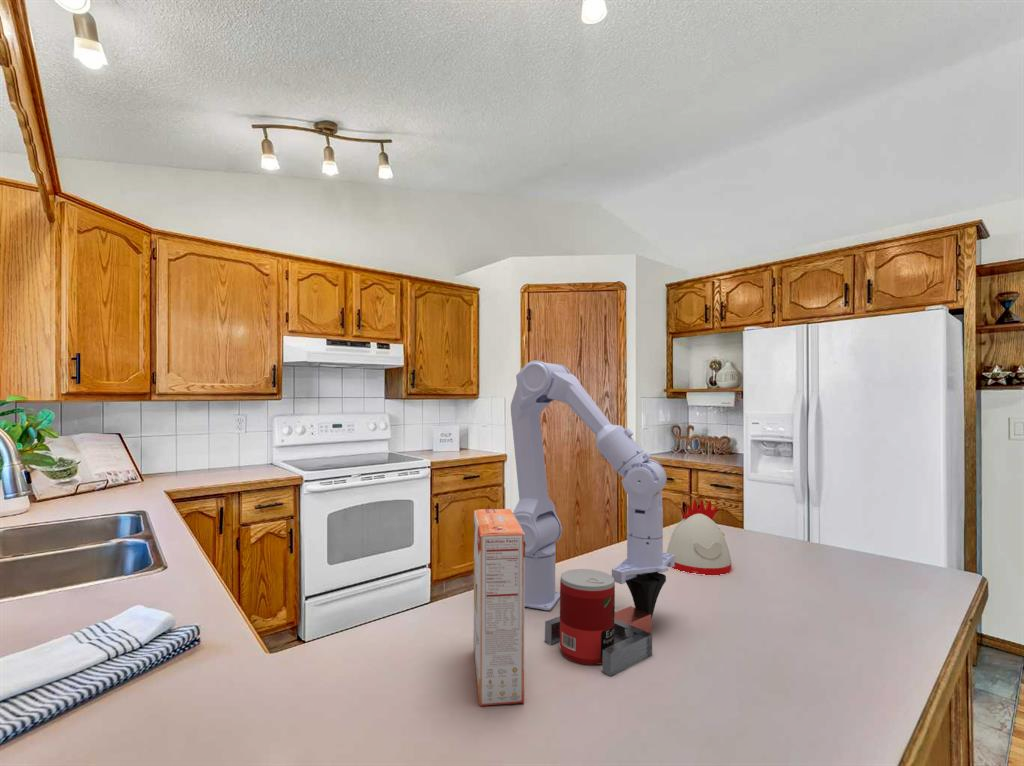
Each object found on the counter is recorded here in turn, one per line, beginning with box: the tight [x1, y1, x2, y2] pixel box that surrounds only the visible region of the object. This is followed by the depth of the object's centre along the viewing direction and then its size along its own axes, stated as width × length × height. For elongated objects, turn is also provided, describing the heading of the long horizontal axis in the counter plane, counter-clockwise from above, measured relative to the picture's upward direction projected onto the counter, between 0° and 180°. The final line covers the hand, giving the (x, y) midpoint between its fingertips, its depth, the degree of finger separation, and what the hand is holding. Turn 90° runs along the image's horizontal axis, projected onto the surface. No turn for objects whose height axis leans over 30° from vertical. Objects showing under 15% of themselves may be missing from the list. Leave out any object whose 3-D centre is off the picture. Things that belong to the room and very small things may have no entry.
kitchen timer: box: [666, 498, 732, 576], centre depth 118 cm, size 14×14×15 cm
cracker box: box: [473, 508, 525, 707], centre depth 69 cm, size 14×6×21 cm, turn 7°
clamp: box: [544, 606, 653, 677], centre depth 79 cm, size 15×13×3 cm
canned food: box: [559, 568, 616, 666], centre depth 76 cm, size 8×8×11 cm
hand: (644, 618), depth 85 cm, fingers closed
